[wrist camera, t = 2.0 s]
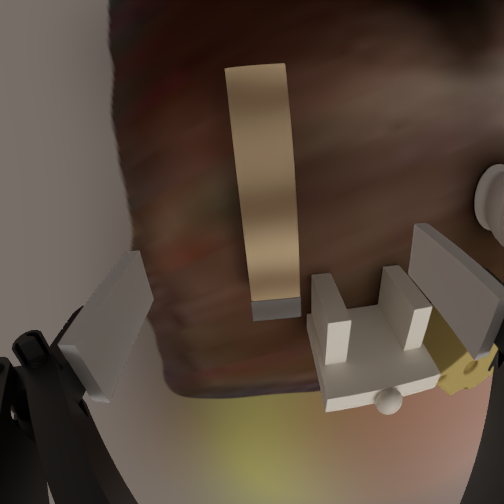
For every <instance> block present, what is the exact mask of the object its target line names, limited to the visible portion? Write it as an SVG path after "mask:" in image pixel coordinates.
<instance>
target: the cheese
mask: <svg viewBox="0 0 504 504" xmlns="http://www.w3.org/2000/svg"><path fill="white" fill-rule="evenodd" d="M430 304H431V305H432V310H431V314H430V318H429V321H428V325H427V328H426V331H425V335H424V338H423V341H422V342H423V344H424V346H425V347H426V349H427V351H428V352H429V354H430V356H431V357H432V359H433V361H434V362H435V364H436V366H437V368H438V369H439V371H440V373H441V375H440V377H439V379H438V381H437V383H436V384H437V385H438V386H440V387H441V388H442V389H443V390H444V391H445V392H446V393H447V394H448V395H449V396H450V395H453V394H454V393H456V392H457V391H459V390H461V389H462V388H464V389H472V388H474V387H475V386H476V385H478V384H479V383H481V382H482V381H483V380H485V379H486V378H487V377H489V376H490V375H491V374H493V370H494V366H493V367H492V368H491V370H490V371H488V368H489V366H490V364H491V362H492V360H493V358H494V356H495V354H496V352H497V350H498V348H497V346H496V345H495V344H493V346H492V348H491V351H490V353H489V355H488V356H486V357H483V358H481V359H478V360H475V361H474V359H473V358H472V356H471V355H470V354H469V352H468V351H467V349H466V348H465V346H464V345H463V344H462V342H461V341H460V339H459V338H458V337H457V335H456V334H455V333H454V331H453V330H452V329H451V327H450V326H449V325H448V323H447V322H446V321H445V319H444V318H443V317H442V315H441V314H440V313H439V311H438V310H437V309H436V308H435V306H434V305H433V304H432V303H430Z"/></svg>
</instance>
